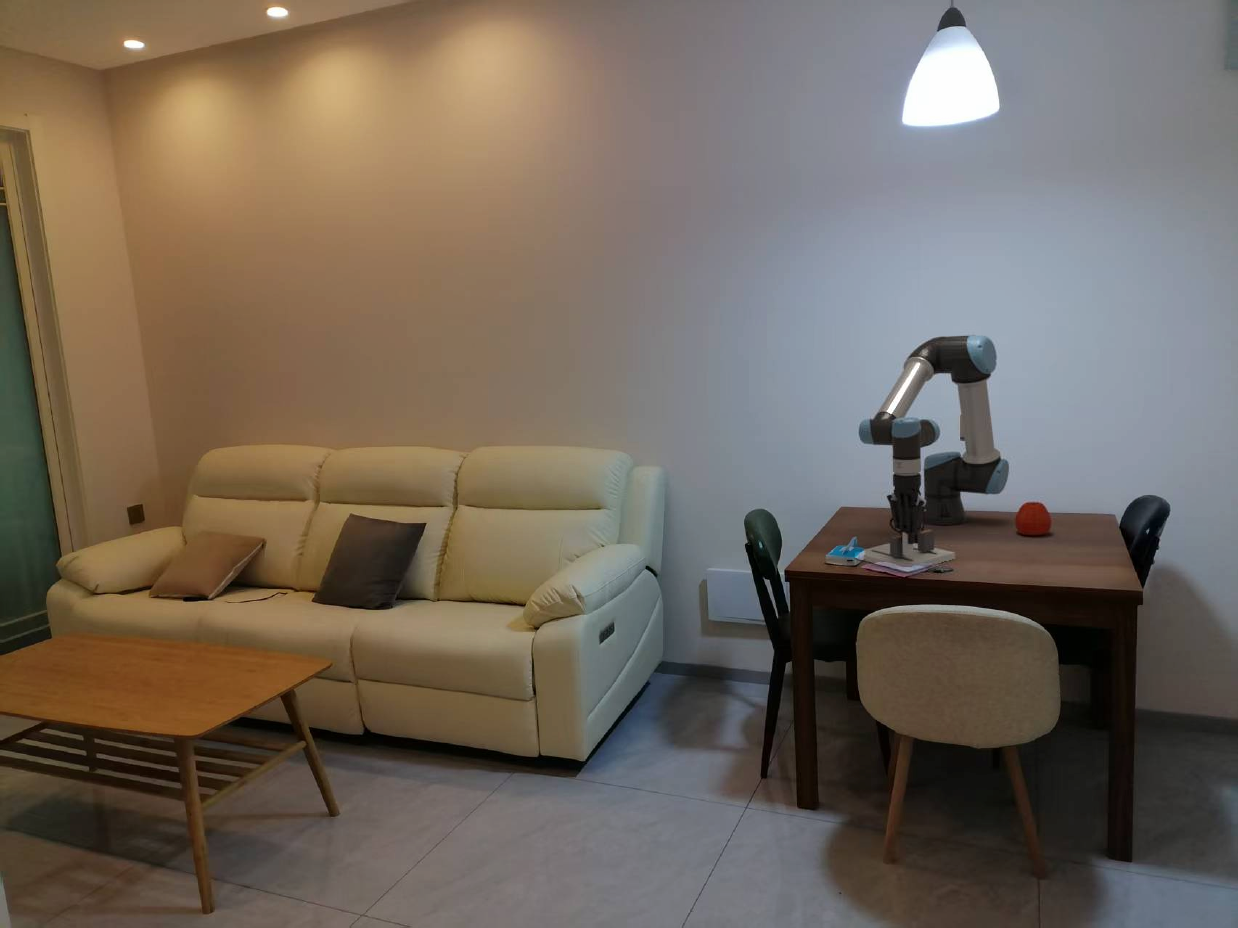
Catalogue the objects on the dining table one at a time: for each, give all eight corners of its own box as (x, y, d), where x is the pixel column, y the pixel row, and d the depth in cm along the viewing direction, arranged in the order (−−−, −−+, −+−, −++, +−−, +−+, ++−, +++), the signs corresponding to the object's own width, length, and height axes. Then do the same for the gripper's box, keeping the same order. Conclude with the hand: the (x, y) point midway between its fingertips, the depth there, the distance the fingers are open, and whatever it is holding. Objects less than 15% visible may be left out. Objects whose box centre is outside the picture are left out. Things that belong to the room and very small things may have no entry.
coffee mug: (922, 537, 281) (922, 506, 279) (929, 543, 273) (928, 512, 271) (885, 538, 282) (884, 508, 281) (890, 545, 274) (890, 514, 272)
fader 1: (899, 553, 255) (899, 534, 255) (906, 555, 253) (906, 536, 252) (890, 556, 254) (889, 537, 253) (896, 557, 251) (896, 538, 250)
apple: (1028, 539, 270) (1029, 506, 268) (1007, 532, 280) (1007, 500, 278) (1058, 535, 272) (1058, 502, 270) (1036, 528, 282) (1036, 496, 280)
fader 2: (927, 547, 259) (927, 529, 258) (934, 549, 257) (933, 530, 256) (917, 550, 257) (917, 531, 256) (924, 552, 255) (924, 533, 254)
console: (900, 546, 272) (900, 539, 272) (955, 559, 255) (955, 552, 254) (854, 558, 262) (854, 551, 262) (907, 573, 245) (907, 565, 245)
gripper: (879, 472, 250) (881, 552, 254) (916, 477, 239) (917, 561, 243) (897, 468, 254) (899, 547, 258) (934, 473, 243) (935, 556, 247)
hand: (908, 554), depth 250 cm, fingers closed
